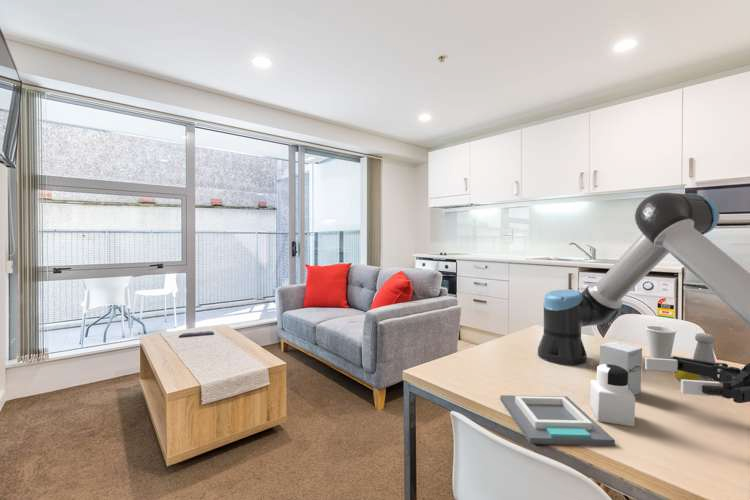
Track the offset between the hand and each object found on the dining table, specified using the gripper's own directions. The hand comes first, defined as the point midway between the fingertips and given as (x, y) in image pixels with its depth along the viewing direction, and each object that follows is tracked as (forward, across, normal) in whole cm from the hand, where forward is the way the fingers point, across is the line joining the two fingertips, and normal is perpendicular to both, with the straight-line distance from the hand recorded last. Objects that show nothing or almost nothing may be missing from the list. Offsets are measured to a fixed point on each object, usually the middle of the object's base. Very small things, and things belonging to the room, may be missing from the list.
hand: (662, 374), depth 78 cm
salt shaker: (-28, +33, -11) cm, 45 cm away
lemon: (-18, +24, -11) cm, 32 cm away
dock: (+24, -4, -11) cm, 27 cm away
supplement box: (+2, +16, -11) cm, 20 cm away
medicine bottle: (+10, +1, -11) cm, 15 cm away
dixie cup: (-25, +49, -11) cm, 56 cm away
